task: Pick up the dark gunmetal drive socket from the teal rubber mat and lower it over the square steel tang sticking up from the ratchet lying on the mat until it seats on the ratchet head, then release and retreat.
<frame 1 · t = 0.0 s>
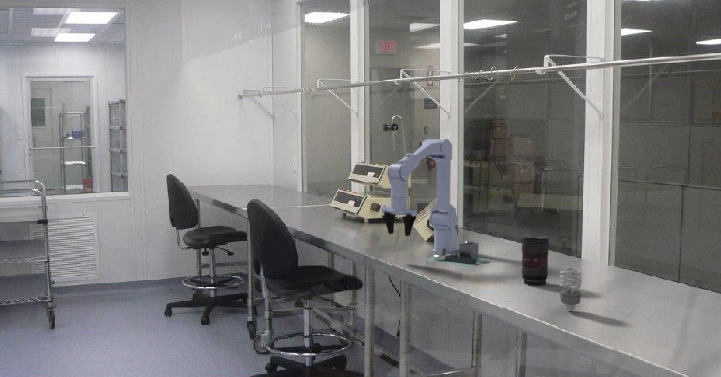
hand: (399, 234, 271), 10 cm above the table, fingers open, 7 cm apart
ratchet: (441, 259, 274), resting on mat
socket: (468, 259, 273), resting on mat
light bulb: (570, 311, 201), on the table
mat: (457, 260, 273), on the table
camera lens: (535, 284, 234), on the table
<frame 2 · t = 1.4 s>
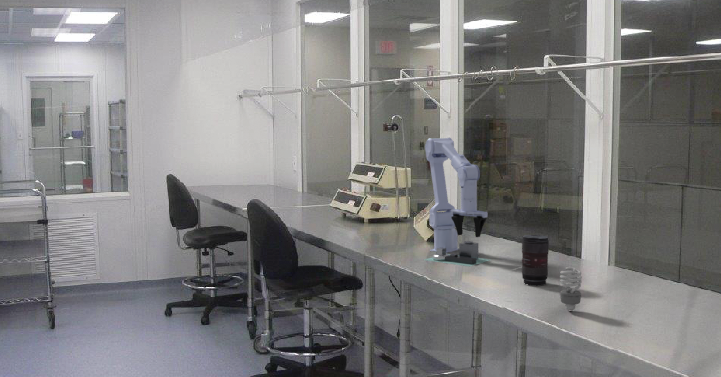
hand: (468, 235, 272), 9 cm above the table, fingers open, 7 cm apart
nothing on the table moved.
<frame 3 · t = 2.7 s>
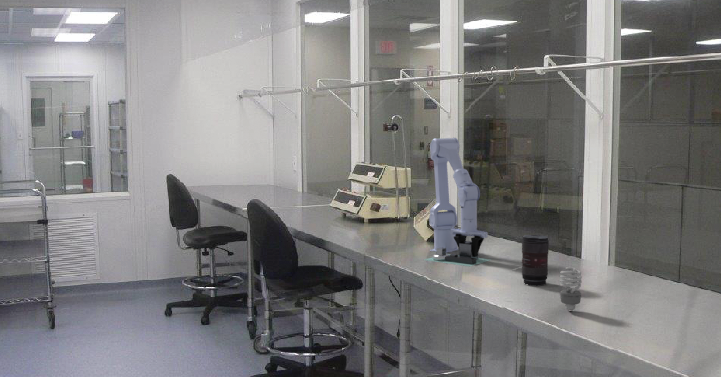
hand: (468, 255, 273), 2 cm above the table, fingers closed on socket, 5 cm apart
socket: (468, 259, 273), resting on mat, touching gripper
everything else where it was.
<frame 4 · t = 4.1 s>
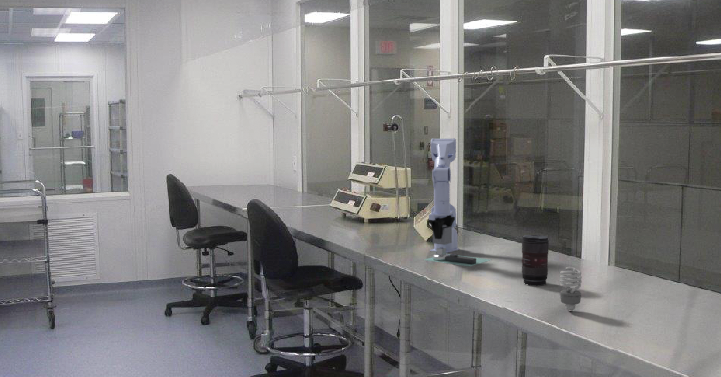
hand: (441, 237, 273), 8 cm above the table, fingers closed on socket, 5 cm apart
socket: (442, 243, 273), point 6 cm above the table, touching gripper
everything else where it was.
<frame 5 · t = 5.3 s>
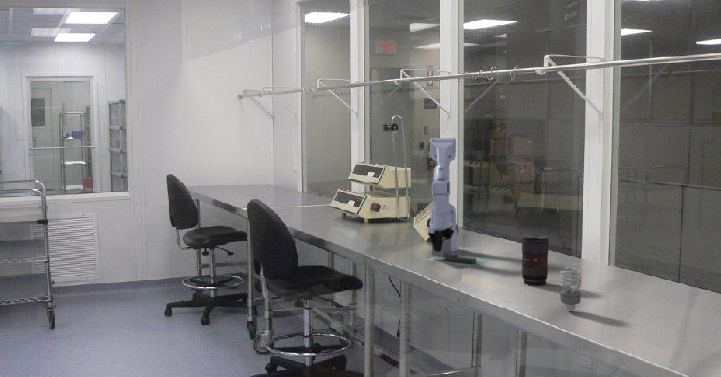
hand: (441, 250, 274), 4 cm above the table, fingers closed on socket, 5 cm apart
socket: (441, 255, 274), point 2 cm above the table, touching gripper, ratchet
everything else where it was.
when the fingers open (4 cm above the table, at t = 5.7 s): socket stays where it is, resting on ratchet.
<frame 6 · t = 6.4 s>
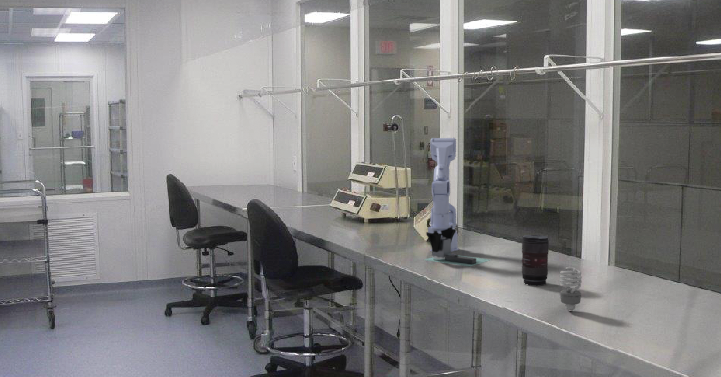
hand: (441, 250, 274), 4 cm above the table, fingers open, 7 cm apart
socket: (441, 255, 274), point 2 cm above the table, touching ratchet
everything else where it was.
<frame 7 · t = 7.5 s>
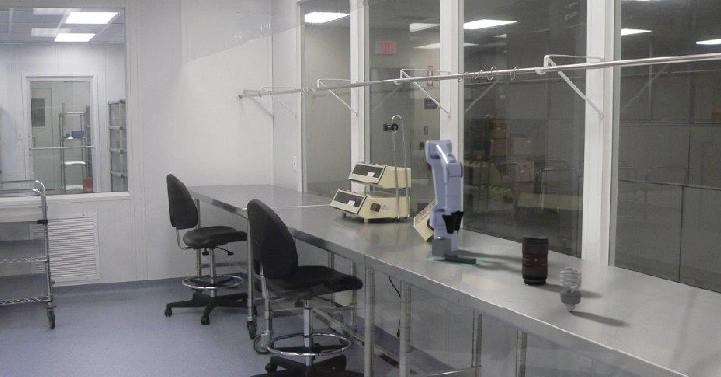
hand: (453, 232, 276), 10 cm above the table, fingers open, 7 cm apart
nothing on the table moved.
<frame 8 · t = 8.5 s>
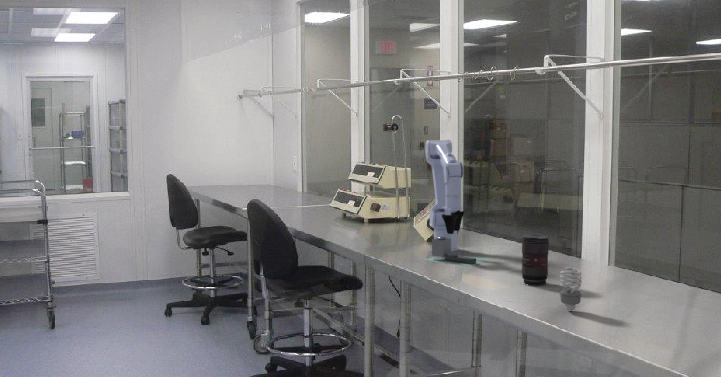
hand: (453, 232, 276), 10 cm above the table, fingers open, 7 cm apart
nothing on the table moved.
at the end: socket 0.1 cm off-centre on the ratchet, point 1.6 cm above the ratchet's base; socket tilted 0°; the gripper is holding nothing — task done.
